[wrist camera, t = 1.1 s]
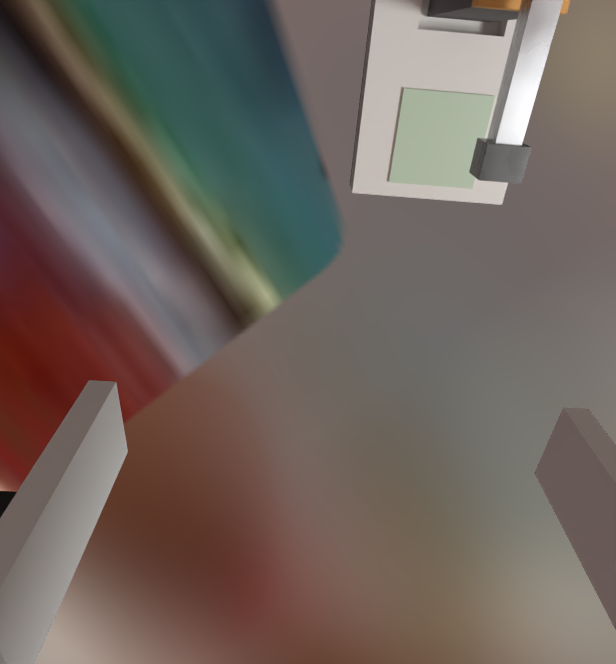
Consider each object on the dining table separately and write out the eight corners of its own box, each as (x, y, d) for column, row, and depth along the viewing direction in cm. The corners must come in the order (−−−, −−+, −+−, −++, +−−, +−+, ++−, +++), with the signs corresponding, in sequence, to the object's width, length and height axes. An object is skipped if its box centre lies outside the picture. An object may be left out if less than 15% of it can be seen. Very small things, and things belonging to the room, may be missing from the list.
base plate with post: (396, -205, 27) (459, -392, 15) (593, -184, 27) (801, -351, 15) (349, 184, 37) (366, 247, 26) (490, 195, 38) (568, 262, 26)
